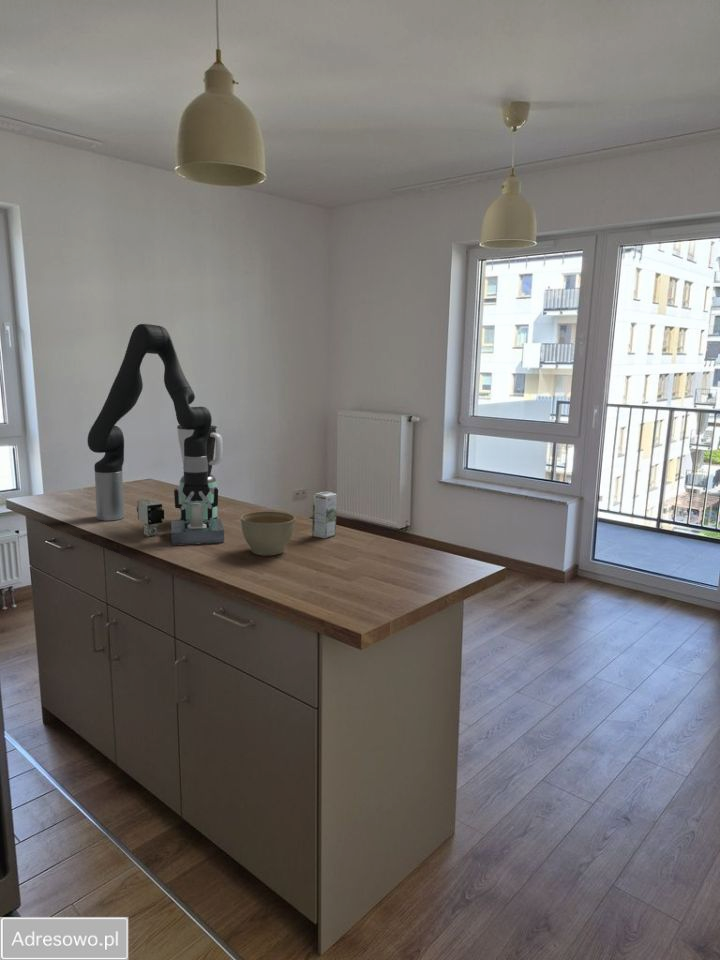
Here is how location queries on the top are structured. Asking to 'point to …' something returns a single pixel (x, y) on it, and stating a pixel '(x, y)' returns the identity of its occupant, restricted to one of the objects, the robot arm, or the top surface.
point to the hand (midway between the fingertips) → (196, 519)
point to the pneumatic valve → (150, 515)
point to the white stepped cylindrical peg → (196, 516)
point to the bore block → (197, 532)
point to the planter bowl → (267, 531)
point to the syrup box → (324, 514)
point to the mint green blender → (211, 479)
